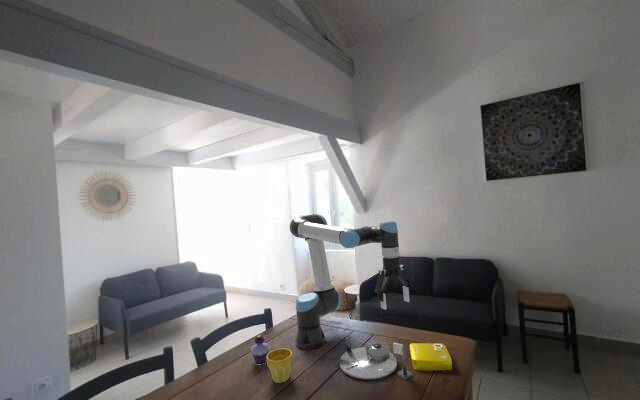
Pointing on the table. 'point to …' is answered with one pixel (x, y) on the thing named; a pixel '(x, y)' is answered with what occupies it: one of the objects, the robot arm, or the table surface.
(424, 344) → the element tile
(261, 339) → the potion bottle
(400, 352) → the stand
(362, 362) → the turntable
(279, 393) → the table surface
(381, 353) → the cover
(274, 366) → the plant pot
